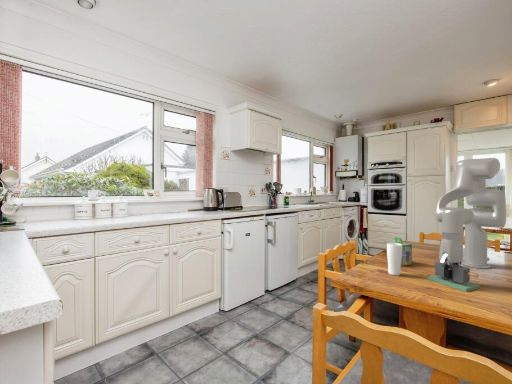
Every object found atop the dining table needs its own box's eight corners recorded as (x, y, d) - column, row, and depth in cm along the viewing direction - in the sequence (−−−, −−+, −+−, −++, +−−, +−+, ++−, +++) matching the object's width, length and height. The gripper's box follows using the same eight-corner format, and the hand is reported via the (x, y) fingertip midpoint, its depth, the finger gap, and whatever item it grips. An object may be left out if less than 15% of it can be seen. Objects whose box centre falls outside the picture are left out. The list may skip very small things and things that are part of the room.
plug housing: (441, 273, 122) (441, 261, 122) (480, 285, 108) (480, 270, 108) (434, 274, 121) (435, 262, 121) (474, 286, 106) (474, 272, 106)
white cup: (400, 272, 131) (400, 243, 131) (403, 277, 124) (403, 245, 124) (385, 271, 133) (386, 242, 133) (387, 275, 127) (388, 244, 126)
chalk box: (412, 265, 144) (412, 238, 144) (398, 266, 142) (399, 239, 142) (399, 260, 153) (399, 235, 153) (386, 261, 151) (386, 236, 150)
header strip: (439, 276, 125) (439, 265, 125) (478, 288, 111) (478, 276, 111) (427, 279, 122) (427, 268, 122) (465, 291, 107) (466, 279, 107)
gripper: (454, 234, 123) (454, 272, 123) (431, 236, 116) (430, 277, 116) (473, 236, 116) (472, 277, 116) (449, 239, 109) (448, 282, 109)
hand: (451, 277), depth 116 cm, fingers closed on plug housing, 4 cm apart
